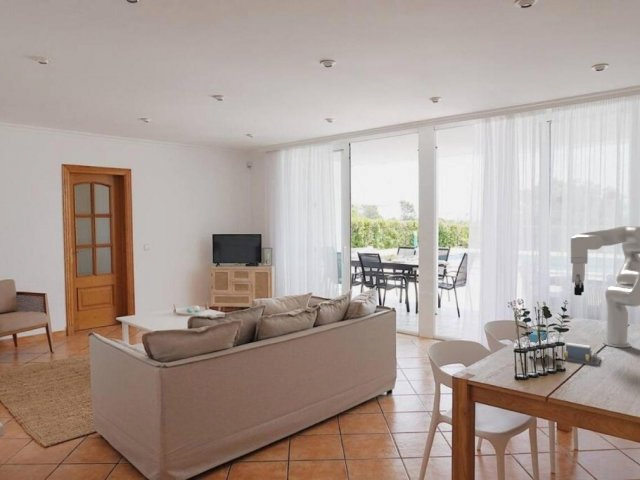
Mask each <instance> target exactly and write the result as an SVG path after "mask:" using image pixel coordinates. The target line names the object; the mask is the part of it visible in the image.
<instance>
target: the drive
mask: <svg viewBox="0 0 640 480" xmlns="http://www.w3.org/2000/svg"><path fill="white" fill-rule="evenodd" d="M591 348H592V347H591V345H590V344H589V345H587V344H580V343H573V342H566V344H565V351H567V352H568V357H573V358H579V359H585V356H586V354H588V355H589V360H590V355H591V351H592V350H591Z"/></svg>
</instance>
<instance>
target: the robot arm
mask: <svg viewBox="0 0 640 480" xmlns="http://www.w3.org/2000/svg"><path fill="white" fill-rule="evenodd" d="M618 244H621V248H622V249H621V250H622V252H623V255H624V261H623V263H622V266H621V268H620V270H619V272H618V275H617V277H616V283H617V285H611V286H609V287H607V289H606V290H605V292H604V293H605V301H606V335H605V337H606V338H605V339H603V340H602V344H604V345H606V346H609V347H613V348H623V349H624V348H630V347H631V343H630V342H628V328H629V327H628V322H629V312H628V311H629V310H628V309H627V307H632V308H637V307H640V226H635V225H634V226H629V225H628V226H627V225H624V226H623V225H622V226H617V227H614V228H609V229H603V230H602V229H601V230H596V231H587V232H583V233H579V234H576V235H574V236H571V237H570V264H572V275H571V282H572V283H574V288H573V290H574V291H573V293H574V295H575V296H583V294H582V293H584V292H585V283H584V282H585V278H586V276H585V275H586V265H587V264H588V260H589V259H588V257H589V255H588V254H589V252H588V251H589V250H590V251H591V250H592V251H596V250H599V249H601V248H602V247H607V246H613V245H614V246H615V245H618ZM618 285H619V286H618Z"/></svg>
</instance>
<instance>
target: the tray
mask: <svg viewBox="0 0 640 480" xmlns="http://www.w3.org/2000/svg"><path fill="white" fill-rule="evenodd" d="M592 352H593V351H592V350H591V355H590V360H589V355H588V354H586V356H585V359H579V358H573V357H568V352H567V351H566V350H564V357H565V361H566V362H571V363H576V362H578V364H582V363H583V365H591V366H596V367H598V366H599V365H600V362H601V359H602V357H601V356H598V353H597V352H594V353H592Z"/></svg>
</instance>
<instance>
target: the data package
mask: <svg viewBox="0 0 640 480" xmlns="http://www.w3.org/2000/svg"><path fill="white" fill-rule="evenodd" d="M532 332H533V333H531V332H530V333H531V334H530V335H529V334H528V336H529V340H530V342H535V343H537V342H538V335H537V332H536V330H534V331H532ZM546 338H547V339H548V337H547V334H546V333H545V332H541V340H542V341H543V340H546ZM538 353H539V351H537V354H538Z"/></svg>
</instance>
